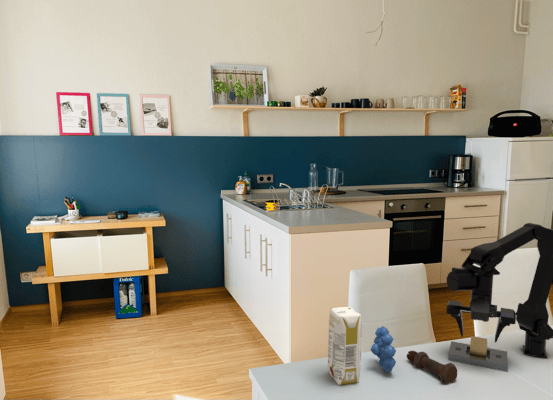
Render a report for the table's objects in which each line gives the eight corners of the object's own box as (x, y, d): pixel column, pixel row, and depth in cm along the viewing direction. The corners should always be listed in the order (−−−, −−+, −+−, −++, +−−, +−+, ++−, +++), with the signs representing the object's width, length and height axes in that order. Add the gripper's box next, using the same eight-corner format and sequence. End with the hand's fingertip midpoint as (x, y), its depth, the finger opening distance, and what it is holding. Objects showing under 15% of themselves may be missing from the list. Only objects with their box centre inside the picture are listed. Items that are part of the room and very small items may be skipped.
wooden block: (470, 354, 139) (471, 336, 138) (486, 357, 137) (487, 338, 136) (469, 360, 135) (470, 341, 134) (485, 363, 133) (487, 344, 132)
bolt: (411, 366, 135) (452, 387, 122) (400, 361, 133) (441, 382, 119) (418, 348, 136) (460, 367, 123) (408, 342, 134) (449, 361, 120)
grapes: (362, 360, 134) (363, 321, 133) (384, 358, 135) (385, 320, 134) (376, 379, 123) (378, 337, 121) (400, 378, 124) (402, 336, 122)
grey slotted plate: (451, 347, 144) (451, 340, 144) (506, 357, 137) (507, 351, 137) (448, 359, 135) (448, 353, 135) (507, 371, 128) (508, 364, 128)
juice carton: (337, 387, 118) (339, 318, 116) (325, 372, 127) (326, 307, 125) (363, 383, 120) (365, 315, 118) (349, 369, 129) (351, 304, 127)
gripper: (446, 291, 131) (443, 343, 132) (518, 301, 123) (514, 356, 124) (449, 282, 141) (446, 329, 142) (516, 290, 133) (512, 341, 134)
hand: (478, 339), depth 135 cm, fingers open, 9 cm apart
